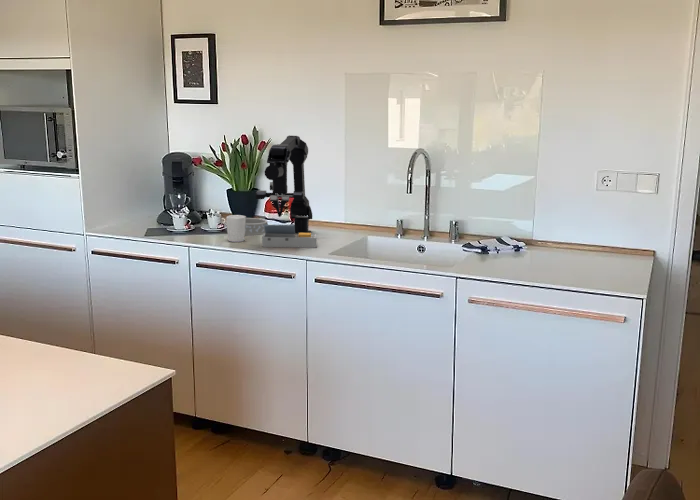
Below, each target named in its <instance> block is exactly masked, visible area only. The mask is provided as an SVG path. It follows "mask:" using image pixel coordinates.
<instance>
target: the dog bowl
mask: <svg viewBox="0 0 700 500" xmlns="http://www.w3.org/2000/svg"><path fill="white" fill-rule="evenodd" d="M264 224H268V221H267V220H266V219H263V218H257V217H256V218H255V217H246V224H245V236H247V237H253V236H254V235H255V237H257V236H263V234H265V228H264ZM268 225H269V224H268ZM256 235H257V236H256Z"/></svg>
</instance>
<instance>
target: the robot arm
mask: <svg viewBox="0 0 700 500" xmlns="http://www.w3.org/2000/svg"><path fill="white" fill-rule="evenodd" d="M308 155H309V147H308V145H307V142H306V141H304V140H302V139H301V138H300V136H299V135H287V136H286V138H285V139H284V140H283V141H282V142H280V143H279V144H278V143H277V144H272V145H271V147H270V148H269V151H268V155H267V160H266V164H269V165H268V166H266V167H265V170H264V176H265V177H266V179H267V180H270V182H269V191H272V192H267V190H256V192H255V200H264V199H265V198H269V199H270V200H269V202H272V203H273V206H274V207H275V210H276V213H277V216H278V217H279V218H281V217H282V213H283V210H284V207H285V205H286V203H288V202H290V199H291V198H292V201H291V203H290V210H289V211H290V219H294V223H293V225H295V234H299V233H311V232H312V230H309V221H310V220H312V219H313V211H312V208H311V205H310V200H309V199H308V198H307V196H306V189H305V188H306V187H305V165H304V164H305V162H306V160H307V159H308ZM289 162H290V163H291V164H292V169H293V170H292V173H293V192H288V163H289ZM279 198H281V200H280V204H279Z"/></svg>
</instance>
